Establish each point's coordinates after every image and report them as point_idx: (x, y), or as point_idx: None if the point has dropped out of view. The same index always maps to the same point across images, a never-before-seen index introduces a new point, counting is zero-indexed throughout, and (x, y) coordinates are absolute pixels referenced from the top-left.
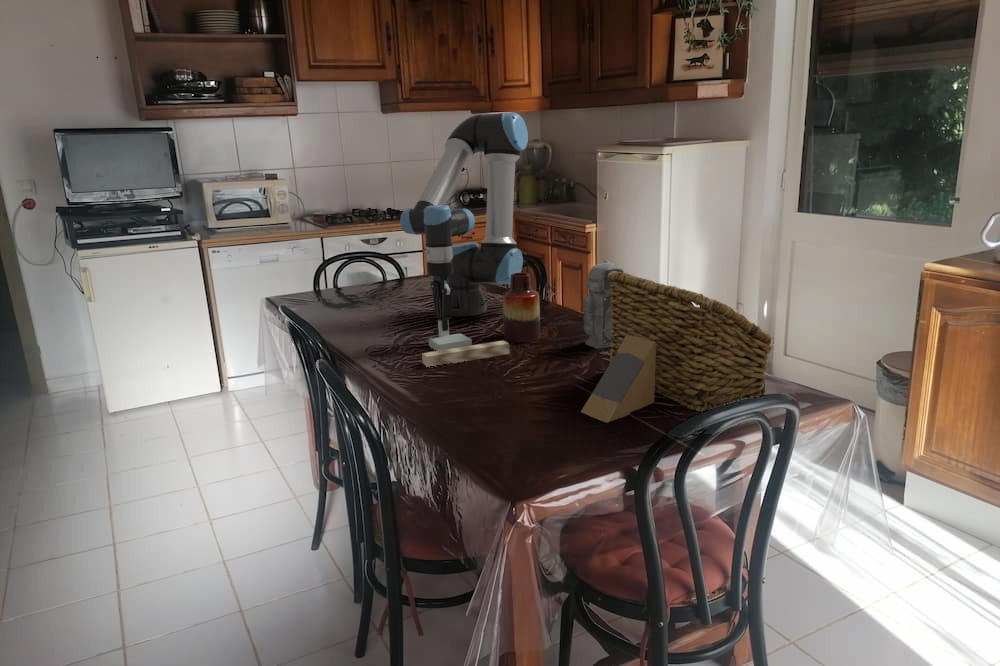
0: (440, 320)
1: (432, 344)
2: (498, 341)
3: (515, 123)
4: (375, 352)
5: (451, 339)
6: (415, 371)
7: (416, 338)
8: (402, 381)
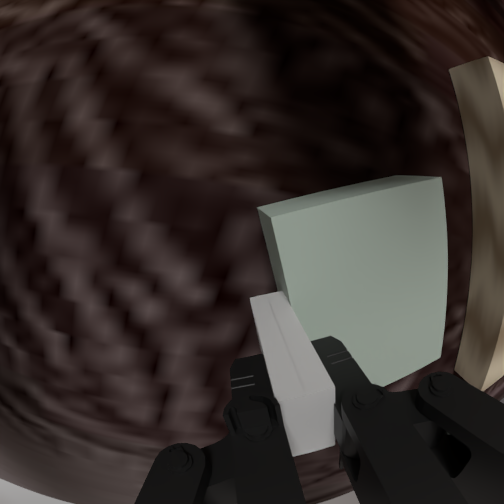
0: (334, 438)
1: None
2: (497, 83)
3: None
4: None
5: (399, 299)
6: None
7: (71, 389)
8: (485, 390)
